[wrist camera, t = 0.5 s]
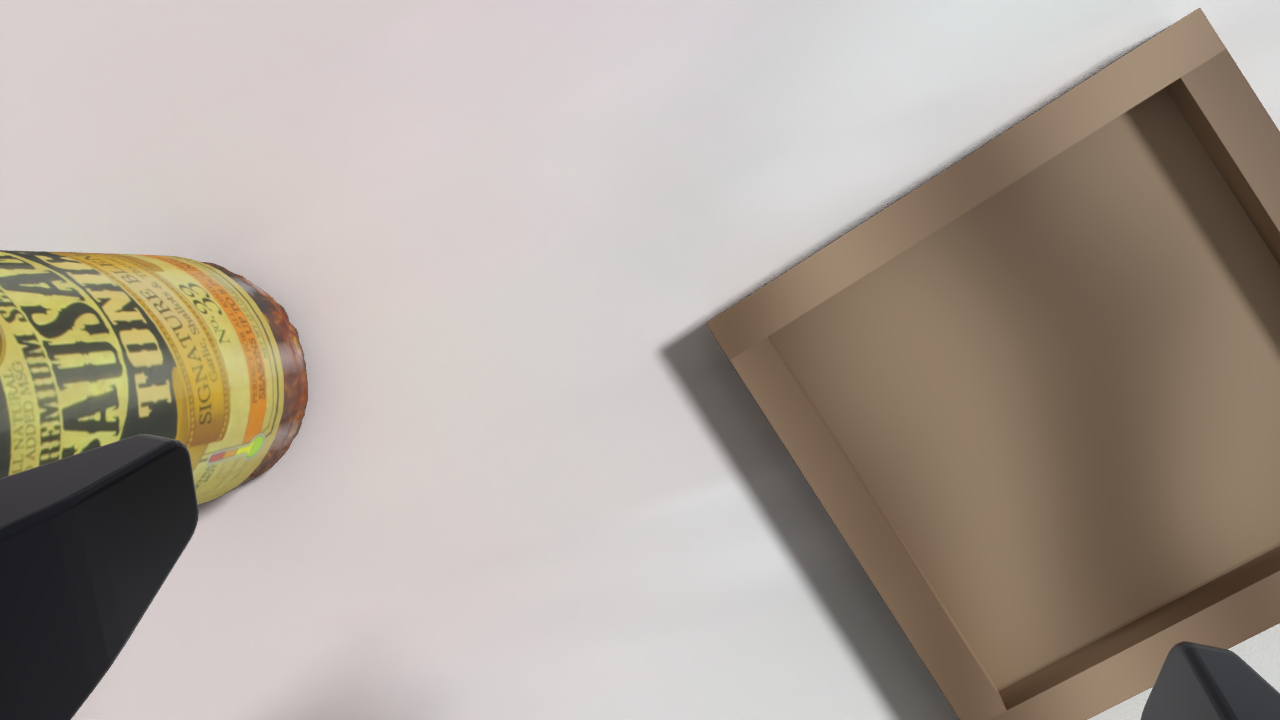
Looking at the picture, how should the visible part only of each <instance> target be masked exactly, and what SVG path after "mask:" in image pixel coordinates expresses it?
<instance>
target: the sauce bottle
mask: <svg viewBox="0 0 1280 720" xmlns="http://www.w3.org/2000/svg"><path fill="white" fill-rule="evenodd" d="M307 401H308V384H307V374H306V364H305V360H304V354H303V350H302V347H301V344H300V342H299V337H298V332H297V330H296V328H295V327H294V326H293V325H292V324H291V323H290V322H289V319H288V315H287V313H286V312H285V310H284V308H283V307H282V306H281V305H279V304H278V303H277V302H275V300H274V299H273V298H272V297H270V296H269V295H268V294H267V293H266V292H264V291H263V290H262V289H260V288H259V287H257V286H254V285H253V284H252V283H251V282H249V281H248V280H246V279H245V278H244V277H243V276H240V275H237V274H234V273H232V272H230V271H228V270H227V269H225V268H224V267H221V266H219V265H216V264H213V263H206V262H199V261H195V260H192V259H187V258H182V257H176V256H157V255H131V254H101V253H76V252H34V251H2V250H0V479H1V478H4V477H7V476H10V475H13V474H16V473H19V472H22V471H26V470H29V469H32V468H35V467H38V466H41V465H44V464H47V463H51V462H54V461H57V460H60V459H63V458H66V457H69V456H72V455H76V454H79V453H82V452H85V451H88V450H91V449H94V448H97V447H101V446H104V445H107V444H110V443H113V442H116V441H119V440H122V439H126V438H129V437H132V436H135V435H139V434H150V435H155V436H160V437H165V438H170V439H175V440H179V441H180V442H182V443H183V444H185V446H186V447H187V449H188V450H189V453H190V457H191V464H192V470H193V477H194V484H195V490H196V497H197V503H198V505H199V504H202V503H205V502H208V501H211V500H214V499H216V498H218V497H220V496H222V495H224V494H225V493H227V492H229V491H230V490H232V489H234V488H235V487H237V486H239V485H240V484H242V483H244V482H247V481H249V480H251V479H253V478H255V477H257V476H259V475H260V474H262V473H263V472H265V471H267V470H268V469H270V468H271V467H272V466H273V465H274V464H275V463H276V462H277V461H278V460H279V459H280V458H281V457H282V456H283V455H284V454H285V452H286V451H287V450H288V449H289V447H290V445H291V443H292V441H293V439H294V438H295V437H296V435H297V434H298V432H299V429H300V427H301V423H302V419H303V417H304V415H305V409H306V405H307Z"/></svg>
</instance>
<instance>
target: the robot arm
mask: <svg viewBox="0 0 1280 720" xmlns="http://www.w3.org/2000/svg"><path fill="white" fill-rule="evenodd" d="M197 521H198V503H197V497H196V490H195V484H194V477H193V470H192V464H191V457H190V453H189V450H188V449H187V447H186V446H185V444H183V443H182V442H180V441H179V440H175V439H170V438H165V437H160V436H155V435H150V434H139V435H135V436H132V437H129V438H126V439H122V440H119V441H116V442H113V443H110V444H107V445H104V446H101V447H97V448H94V449H91V450H88V451H85V452H82V453H79V454H76V455H72V456H69V457H66V458H63V459H60V460H57V461H54V462H51V463H47V464H44V465H41V466H38V467H35V468H32V469H29V470H26V471H22V472H19V473H16V474H13V475H10V476H7V477H4V478H1V479H0V720H71V719H72V717H73V716H74V715H75V713H76V712H77V711H78V710H79V708H80V707H81V706H82V704H83V703H84V702H85V700H86V699H87V698H88V697H89V695H90V694H91V693H92V691H93V690H94V689H95V687H96V686H97V685H98V683H99V682H100V680H101V679H102V678H103V676H104V675H105V674H106V672H107V671H108V670H109V668H110V667H111V665H112V664H113V662H114V661H115V659H116V658H117V656H118V655H119V653H120V652H121V650H122V649H123V647H124V646H125V644H126V643H127V641H128V639H129V638H130V636H131V634H132V633H133V631H134V630H135V628H136V626H137V625H138V623H139V622H140V620H141V618H142V617H143V615H144V613H145V612H146V610H147V609H148V607H149V605H150V604H151V602H152V601H153V599H154V597H155V596H156V594H157V593H158V591H159V589H160V588H161V586H162V584H163V583H164V581H165V580H166V578H167V576H168V575H169V573H170V572H171V570H172V568H173V567H174V565H175V563H176V562H177V560H178V559H179V557H180V555H181V554H182V552H183V551H184V549H185V547H186V546H187V544H188V542H189V541H190V539H191V537H192V535H193V534H194V531H195V528H196V525H197ZM1141 720H1280V693H1279V692H1278V691H1276V690H1275V689H1274V688H1273V687H1272V686H1271V685H1270V684H1269V683H1268V682H1267V681H1265V680H1264V679H1263V678H1262V677H1261V676H1260V675H1259V674H1258V673H1257V672H1256V671H1254V670H1253V669H1252V668H1251V667H1250V666H1249V665H1248V664H1247V663H1246V662H1244V661H1243V660H1242V659H1241V658H1240V657H1239V656H1238V655H1236V654H1235V653H1234V652H1232V651H1230V650H1227V649H1223V648H1218V647H1213V646H1208V645H1203V644H1198V643H1193V642H1188V641H1183V642H1180V643H1177V644H1175V645H1174V646H1173V647H1172V649H1171V650H1170V651H1169V653H1168V655H1167V657H1166V659H1165V662H1164V664H1163V666H1162V668H1161V671H1160V673H1159V675H1158V678H1157V680H1156V682H1155V684H1154V687H1153V689H1152V691H1151V693H1150V696H1149V698H1148V700H1147V702H1146V705H1145V707H1144V710H1143V712H1142V717H1141Z"/></svg>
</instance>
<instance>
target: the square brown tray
mask: <svg viewBox="0 0 1280 720" xmlns="http://www.w3.org/2000/svg"><path fill="white" fill-rule="evenodd" d="M706 324H707V326H708V327H709V329H710V330H711V332H712V333H713V335H714V336H715V338H716V340H717V341H718V343H719V344H720V346H721V347H722V349H723V351H724V352H725V354H726V355H727V357H728V358H729V360H730V361H731V363H732V365H733V366H734V368H735V369H736V371H737V372H738V374H739V375H740V377H741V379H742V380H743V382H744V383H745V385H746V386H747V388H748V390H749V391H750V393H751V394H752V396H753V397H754V399H755V400H756V402H757V404H758V405H759V407H760V408H761V410H762V411H763V413H764V414H765V416H766V418H767V419H768V421H769V422H770V424H771V425H772V427H773V429H774V430H775V432H776V433H777V435H778V436H779V438H780V439H781V441H782V443H783V444H784V446H785V447H786V449H787V450H788V452H789V453H790V455H791V457H792V458H793V460H794V461H795V463H796V464H797V466H798V468H799V469H800V471H801V472H802V474H803V475H804V477H805V478H806V480H807V482H808V483H809V485H810V486H811V488H812V489H813V491H814V492H815V494H816V496H817V497H818V499H819V500H820V502H821V503H822V505H823V507H824V508H825V510H826V511H827V513H828V514H829V516H830V517H831V519H832V521H833V522H834V524H835V525H836V527H837V528H838V530H839V531H840V533H841V535H842V536H843V538H844V539H845V541H846V542H847V544H848V546H849V547H850V549H851V550H852V552H853V553H854V555H855V556H856V558H857V560H858V561H859V563H860V564H861V566H862V567H863V569H864V570H865V572H866V574H867V575H868V577H869V578H870V580H871V581H872V583H873V585H874V586H875V588H876V589H877V591H878V592H879V594H880V595H881V597H882V599H883V600H884V602H885V603H886V605H887V606H888V608H889V609H890V611H891V613H892V614H893V616H894V617H895V619H896V620H897V622H898V624H899V625H900V627H901V628H902V630H903V631H904V633H905V634H906V636H907V638H908V639H909V641H910V642H911V644H912V645H913V647H914V649H915V650H916V652H917V653H918V655H919V656H920V658H921V659H922V661H923V663H924V664H925V666H926V667H927V669H928V670H929V672H930V673H931V675H932V677H933V678H934V680H935V681H936V683H937V684H938V686H939V688H940V689H941V691H942V692H943V694H944V695H945V697H946V698H947V700H948V702H949V703H950V705H951V706H952V708H953V709H954V711H955V712H956V714H957V716H958V717H959V719H960V720H1087V719H1089V718H1091V717H1093V716H1095V715H1097V714H1099V713H1101V712H1103V711H1105V710H1107V709H1109V708H1111V707H1113V706H1115V705H1117V704H1119V703H1121V702H1123V701H1125V700H1127V699H1129V698H1131V697H1133V696H1135V695H1137V694H1139V693H1141V692H1143V691H1145V690H1147V689H1149V688H1151V687H1153V686H1154V684H1155V682H1156V680H1157V678H1158V675H1159V673H1160V671H1161V668H1162V666H1163V664H1164V662H1165V659H1166V657H1167V655H1168V653H1169V651H1170V650H1171V649H1172V647H1173V646H1174V645H1175V644H1177V643H1180V642H1183V641H1188V642H1193V643H1198V644H1203V645H1208V646H1213V647H1218V648H1223V649H1229V648H1231V647H1233V646H1235V645H1237V644H1239V643H1241V642H1243V641H1245V640H1247V639H1249V638H1251V637H1253V636H1255V635H1257V634H1259V633H1261V632H1263V631H1265V630H1267V629H1269V628H1271V627H1273V626H1275V625H1277V624H1279V623H1280V132H1279V130H1278V129H1277V127H1276V125H1275V124H1274V122H1273V121H1272V119H1271V118H1270V116H1269V115H1268V113H1267V111H1266V110H1265V108H1264V107H1263V105H1262V104H1261V102H1260V100H1259V99H1258V97H1257V96H1256V94H1255V93H1254V91H1253V90H1252V88H1251V86H1250V85H1249V83H1248V82H1247V80H1246V79H1245V77H1244V76H1243V74H1242V72H1241V71H1240V69H1239V68H1238V66H1237V65H1236V63H1235V62H1234V60H1233V58H1232V57H1231V55H1230V54H1229V52H1228V51H1227V49H1226V47H1225V46H1224V44H1223V43H1222V41H1221V40H1220V38H1219V37H1218V35H1217V33H1216V32H1215V30H1214V29H1213V27H1212V26H1211V24H1210V23H1209V21H1208V19H1207V18H1206V16H1205V15H1204V13H1203V12H1202V10H1201V8H1198V9H1197V10H1195V11H1193V12H1192V13H1190V14H1189V15H1187V16H1185V17H1184V18H1182V19H1181V20H1179V21H1177V22H1176V23H1174V24H1173V25H1171V26H1170V27H1168V28H1166V29H1165V30H1163V31H1162V32H1160V33H1159V34H1157V35H1155V36H1154V37H1152V38H1151V39H1149V40H1148V41H1146V42H1145V43H1143V44H1141V45H1140V46H1138V47H1137V48H1135V49H1134V50H1132V51H1130V52H1129V53H1127V54H1126V55H1124V56H1123V57H1121V58H1120V59H1118V60H1116V61H1115V62H1113V63H1112V64H1110V65H1109V66H1107V67H1105V68H1104V69H1102V70H1101V71H1099V72H1098V73H1096V74H1095V75H1093V76H1091V77H1090V78H1088V79H1087V80H1085V81H1084V82H1082V83H1080V84H1079V85H1077V86H1076V87H1074V88H1073V89H1071V90H1069V91H1068V92H1066V93H1065V94H1063V95H1062V96H1060V97H1059V98H1057V99H1055V100H1054V101H1052V102H1051V103H1049V104H1048V105H1046V106H1044V107H1043V108H1041V109H1040V110H1038V111H1037V112H1035V113H1034V114H1032V115H1030V116H1029V117H1027V118H1026V119H1024V120H1023V121H1021V122H1019V123H1018V124H1016V125H1015V126H1013V127H1012V128H1010V129H1009V130H1007V131H1005V132H1004V133H1002V134H1001V135H999V136H998V137H996V138H994V139H993V140H991V141H990V142H988V143H987V144H985V145H984V146H982V147H980V148H979V149H977V150H976V151H974V152H973V153H971V154H969V155H968V156H966V157H965V158H963V159H962V160H960V161H959V162H957V163H955V164H954V165H952V166H951V167H949V168H948V169H946V170H944V171H943V172H941V173H940V174H938V175H937V176H935V177H934V178H932V179H930V180H929V181H927V182H926V183H924V184H923V185H921V186H919V187H918V188H916V189H915V190H913V191H912V192H910V193H909V194H907V195H905V196H904V197H902V198H901V199H899V200H898V201H896V202H894V203H893V204H891V205H890V206H888V207H887V208H885V209H883V210H882V211H880V212H879V213H877V214H876V215H874V216H873V217H871V218H869V219H868V220H866V221H865V222H863V223H862V224H860V225H858V226H857V227H855V228H854V229H852V230H851V231H849V232H848V233H846V234H844V235H843V236H841V237H840V238H838V239H837V240H835V241H833V242H832V243H830V244H829V245H827V246H826V247H824V248H823V249H821V250H819V251H818V252H816V253H815V254H813V255H812V256H810V257H808V258H807V259H805V260H804V261H802V262H801V263H799V264H798V265H796V266H794V267H793V268H791V269H790V270H788V271H787V272H785V273H783V274H782V275H780V276H779V277H777V278H776V279H774V280H773V281H771V282H769V283H768V284H766V285H765V286H763V287H762V288H760V289H758V290H757V291H755V292H754V293H752V294H751V295H749V296H748V297H746V298H744V299H743V300H741V301H740V302H738V303H737V304H735V305H733V306H732V307H730V308H729V309H727V310H726V311H724V312H722V313H721V314H719V315H718V316H716V317H715V318H713V319H712V320H710V321H709V322H707V323H706Z"/></svg>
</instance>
